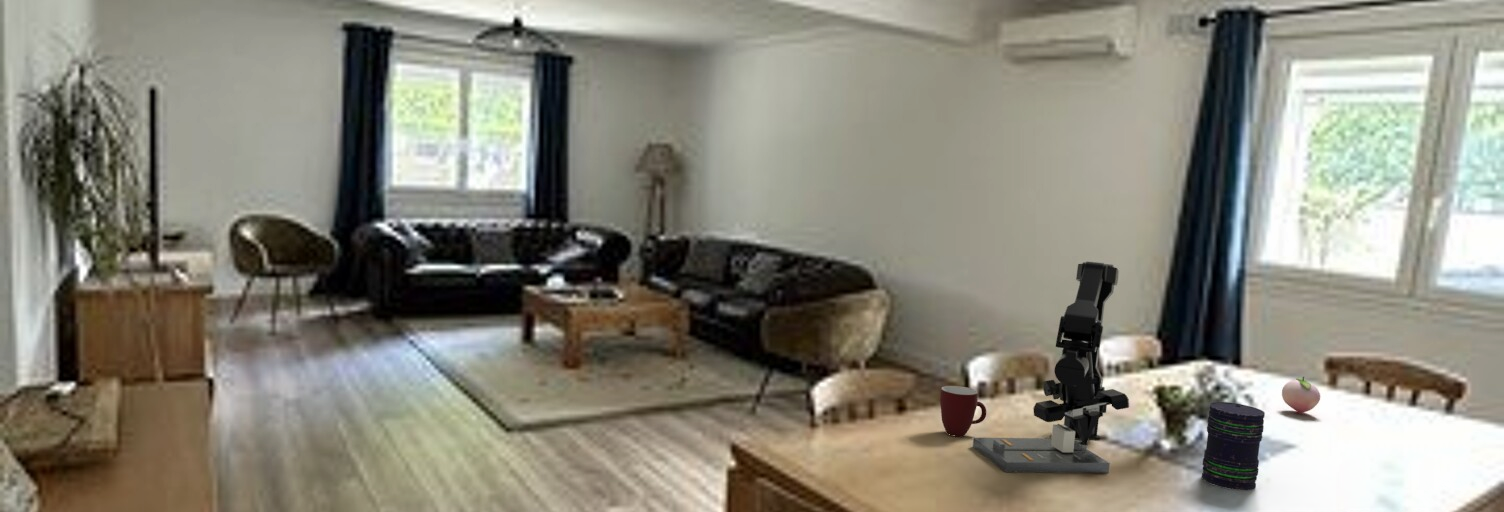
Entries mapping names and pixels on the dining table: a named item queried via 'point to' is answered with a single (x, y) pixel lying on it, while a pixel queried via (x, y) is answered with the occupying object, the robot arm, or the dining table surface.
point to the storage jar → (1233, 446)
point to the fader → (1063, 438)
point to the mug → (959, 409)
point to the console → (1039, 456)
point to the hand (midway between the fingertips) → (1084, 445)
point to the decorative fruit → (1300, 395)
